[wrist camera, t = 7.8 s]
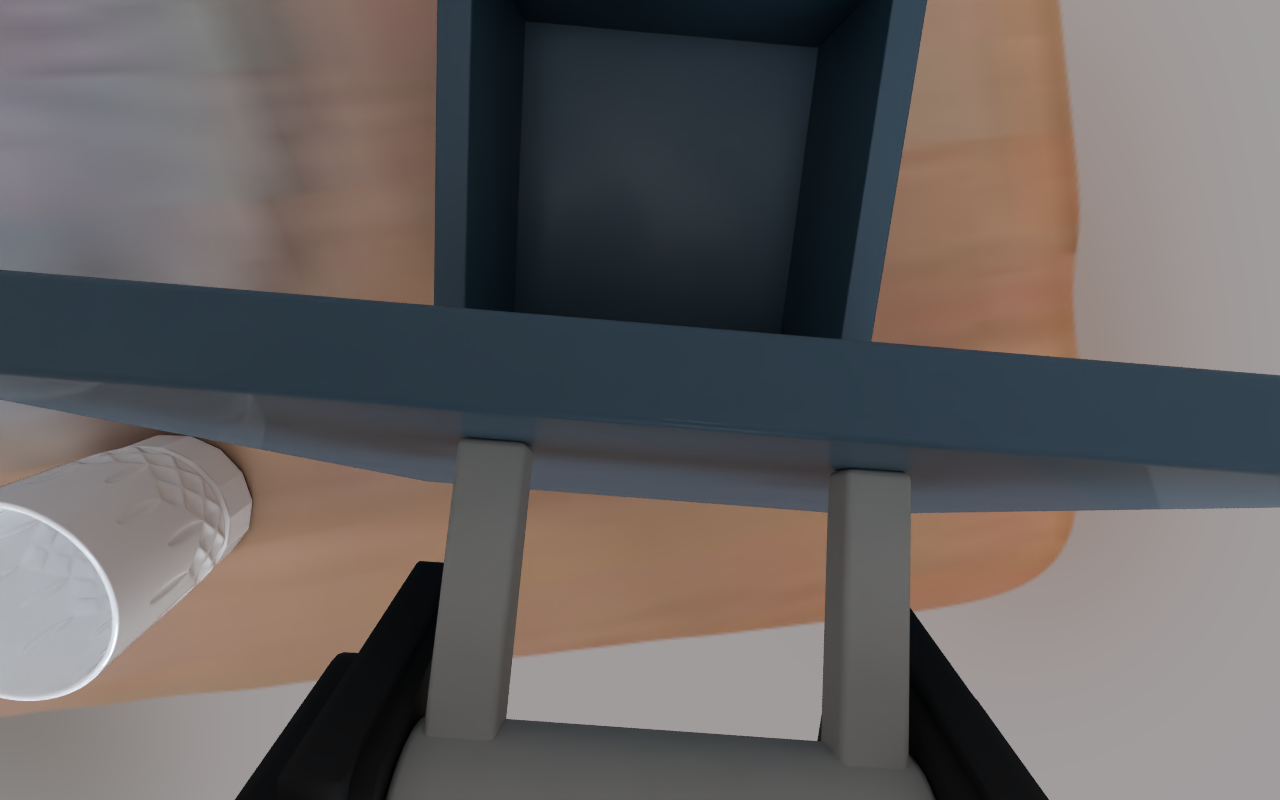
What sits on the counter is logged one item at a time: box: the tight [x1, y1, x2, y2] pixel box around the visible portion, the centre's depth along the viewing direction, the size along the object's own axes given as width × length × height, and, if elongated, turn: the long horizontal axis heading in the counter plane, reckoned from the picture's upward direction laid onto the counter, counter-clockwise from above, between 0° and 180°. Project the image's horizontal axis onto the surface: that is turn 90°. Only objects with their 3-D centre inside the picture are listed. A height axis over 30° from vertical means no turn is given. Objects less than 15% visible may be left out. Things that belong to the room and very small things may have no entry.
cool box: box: [434, 0, 927, 342], centre depth 26 cm, size 17×14×10 cm
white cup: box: [0, 435, 252, 701], centre depth 29 cm, size 8×8×10 cm
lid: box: [0, 270, 1280, 800], centre depth 14 cm, size 18×14×6 cm
